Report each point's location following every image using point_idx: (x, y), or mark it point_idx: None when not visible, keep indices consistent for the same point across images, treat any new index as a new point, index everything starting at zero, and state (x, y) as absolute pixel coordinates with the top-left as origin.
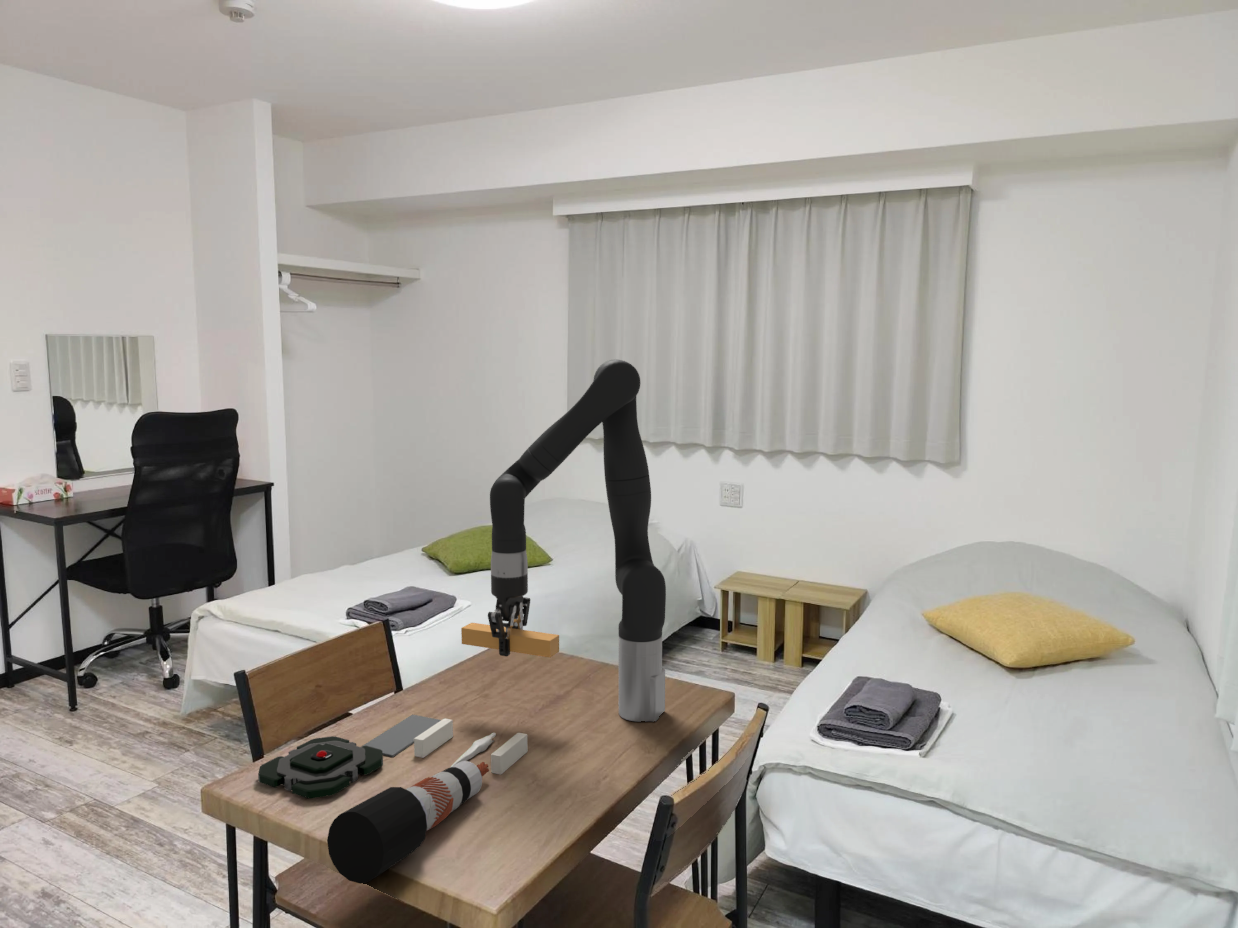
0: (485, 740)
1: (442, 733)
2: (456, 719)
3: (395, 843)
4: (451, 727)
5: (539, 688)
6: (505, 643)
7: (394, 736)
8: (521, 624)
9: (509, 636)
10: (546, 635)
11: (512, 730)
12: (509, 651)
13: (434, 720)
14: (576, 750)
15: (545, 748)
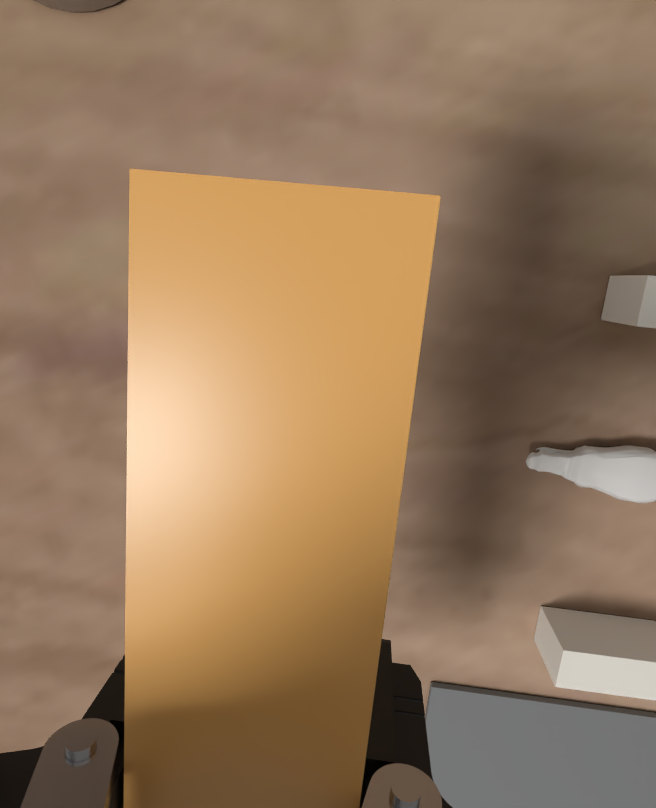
0: (619, 464)
1: (629, 641)
2: (394, 652)
3: None
4: (562, 632)
5: (8, 469)
6: (413, 746)
7: (603, 784)
8: (53, 793)
9: (396, 779)
10: (223, 350)
11: (430, 415)
12: None
13: (441, 717)
14: (553, 60)
15: (564, 211)
